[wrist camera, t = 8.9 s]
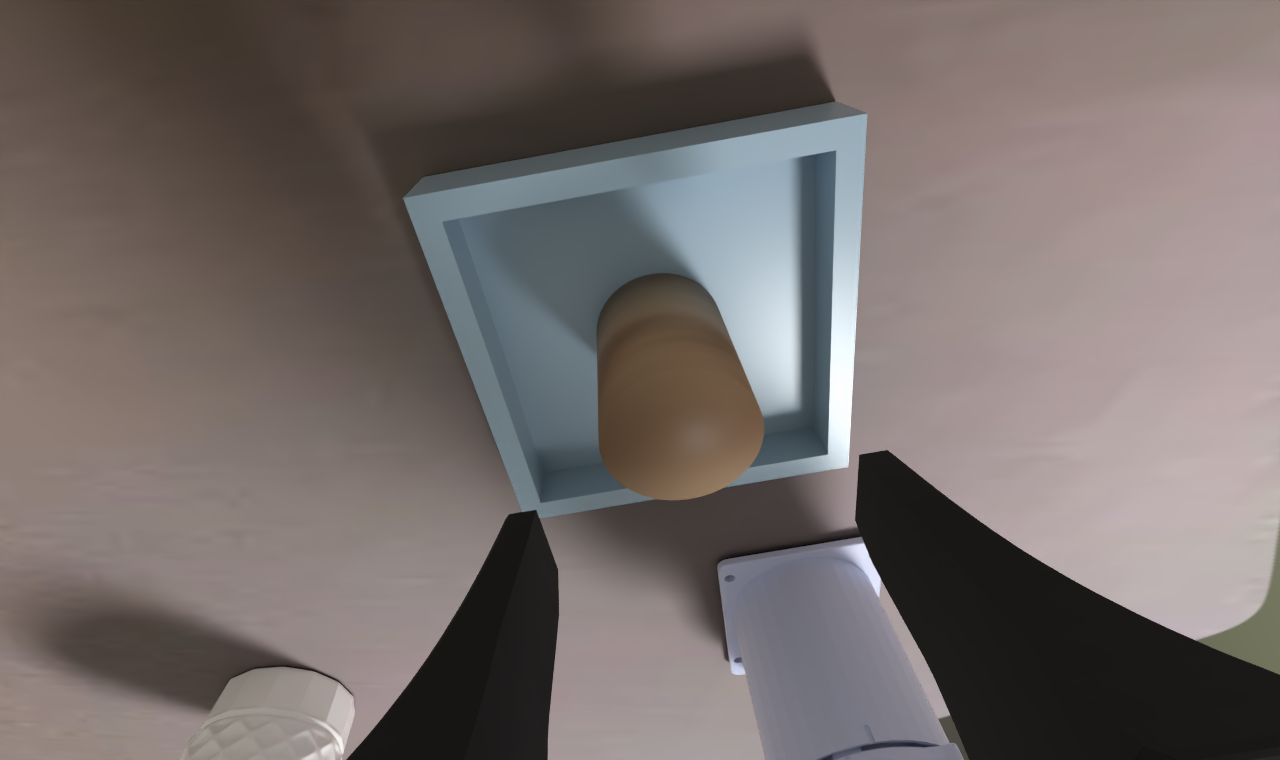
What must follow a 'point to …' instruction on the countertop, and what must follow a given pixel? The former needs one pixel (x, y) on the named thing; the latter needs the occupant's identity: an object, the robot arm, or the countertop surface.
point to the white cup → (276, 718)
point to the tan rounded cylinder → (672, 391)
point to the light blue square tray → (649, 244)
